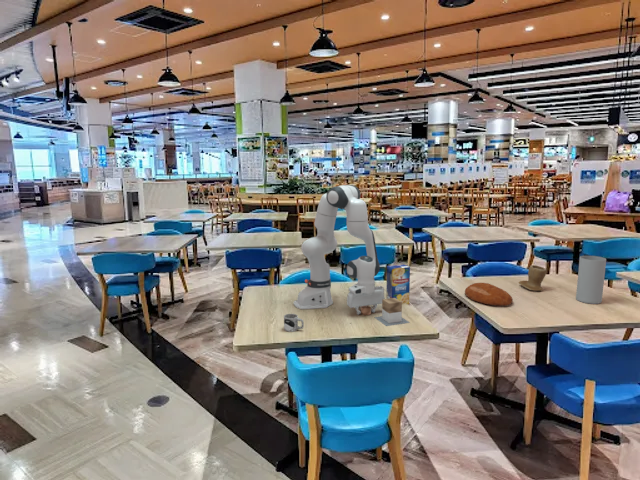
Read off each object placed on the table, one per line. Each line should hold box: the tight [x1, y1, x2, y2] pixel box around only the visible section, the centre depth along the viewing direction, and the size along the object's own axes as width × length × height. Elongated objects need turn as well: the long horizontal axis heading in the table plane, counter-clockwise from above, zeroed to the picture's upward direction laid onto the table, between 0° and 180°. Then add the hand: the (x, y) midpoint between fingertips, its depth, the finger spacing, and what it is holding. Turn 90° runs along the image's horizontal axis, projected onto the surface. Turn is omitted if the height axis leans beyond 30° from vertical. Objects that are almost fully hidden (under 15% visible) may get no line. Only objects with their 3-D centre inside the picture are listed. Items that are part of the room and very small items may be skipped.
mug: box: [283, 313, 304, 333], centre depth 202 cm, size 10×7×7 cm, turn 69°
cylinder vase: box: [575, 255, 607, 305], centre depth 237 cm, size 12×12×25 cm
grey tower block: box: [381, 308, 403, 323], centre depth 209 cm, size 7×7×5 cm
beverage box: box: [385, 264, 411, 305], centre depth 235 cm, size 7×11×22 cm, turn 108°
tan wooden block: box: [381, 298, 403, 313], centre depth 208 cm, size 7×7×5 cm
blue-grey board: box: [374, 315, 411, 327], centre depth 209 cm, size 13×13×2 cm
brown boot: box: [518, 264, 547, 292], centre depth 263 cm, size 15×12×15 cm
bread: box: [464, 282, 514, 307], centre depth 244 cm, size 23×32×9 cm
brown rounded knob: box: [360, 305, 372, 316], centre depth 219 cm, size 5×5×5 cm
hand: (365, 313), depth 219 cm, fingers open, 7 cm apart
